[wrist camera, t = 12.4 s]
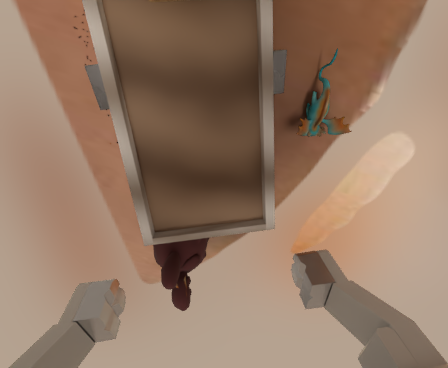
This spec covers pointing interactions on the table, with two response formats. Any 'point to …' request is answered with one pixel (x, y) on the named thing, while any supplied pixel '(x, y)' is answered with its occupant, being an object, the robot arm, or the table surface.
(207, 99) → the balance beam
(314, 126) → the dragon figurine
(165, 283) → the icecream
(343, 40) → the table surface
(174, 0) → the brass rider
